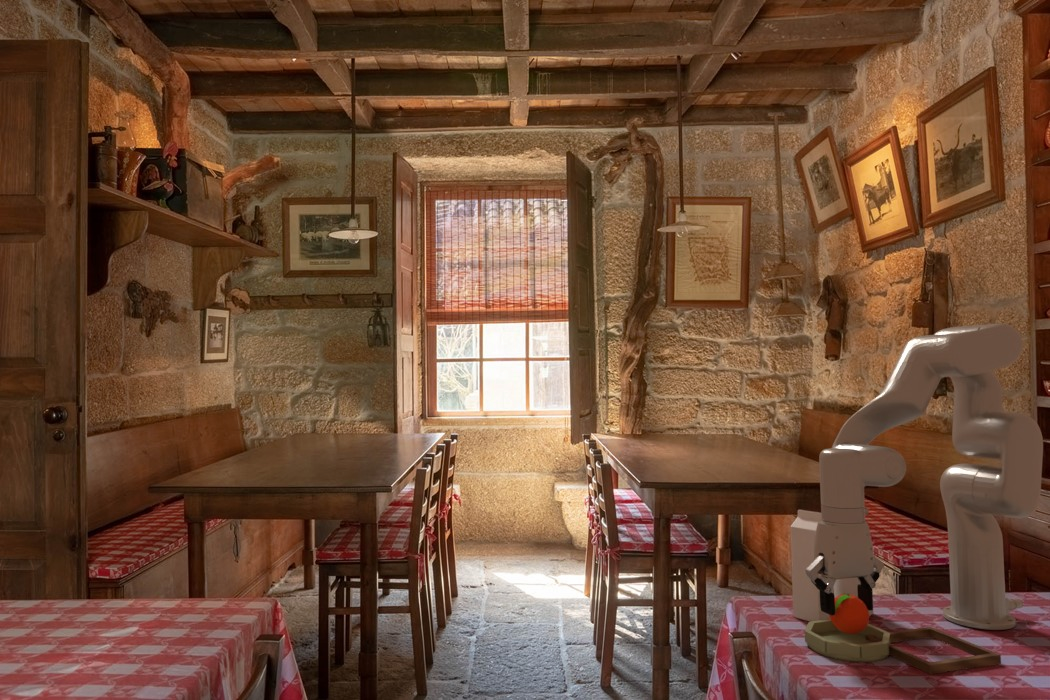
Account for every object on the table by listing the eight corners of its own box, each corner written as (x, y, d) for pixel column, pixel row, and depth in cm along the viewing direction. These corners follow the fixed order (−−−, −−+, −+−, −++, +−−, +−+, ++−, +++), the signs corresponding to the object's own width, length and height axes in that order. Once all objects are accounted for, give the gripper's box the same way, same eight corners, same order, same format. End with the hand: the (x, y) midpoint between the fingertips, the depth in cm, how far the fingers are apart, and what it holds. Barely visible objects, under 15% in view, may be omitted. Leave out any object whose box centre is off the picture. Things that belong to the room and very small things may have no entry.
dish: (852, 630, 142) (852, 616, 142) (907, 656, 128) (907, 640, 128) (791, 638, 138) (790, 623, 138) (841, 666, 124) (841, 649, 125)
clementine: (854, 643, 128) (852, 603, 128) (818, 633, 134) (817, 594, 134) (877, 633, 133) (875, 594, 133) (842, 623, 138) (840, 586, 139)
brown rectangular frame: (930, 634, 139) (930, 626, 139) (1001, 663, 124) (1000, 654, 124) (865, 643, 135) (865, 635, 135) (930, 674, 120) (930, 665, 120)
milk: (819, 624, 146) (815, 515, 146) (792, 617, 150) (788, 511, 151) (835, 618, 149) (831, 511, 150) (808, 610, 154) (805, 507, 155)
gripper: (867, 508, 140) (871, 600, 139) (790, 514, 135) (793, 609, 135) (896, 515, 133) (901, 611, 132) (816, 522, 128) (820, 622, 127)
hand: (846, 610), depth 133 cm, fingers closed on clementine, 7 cm apart
